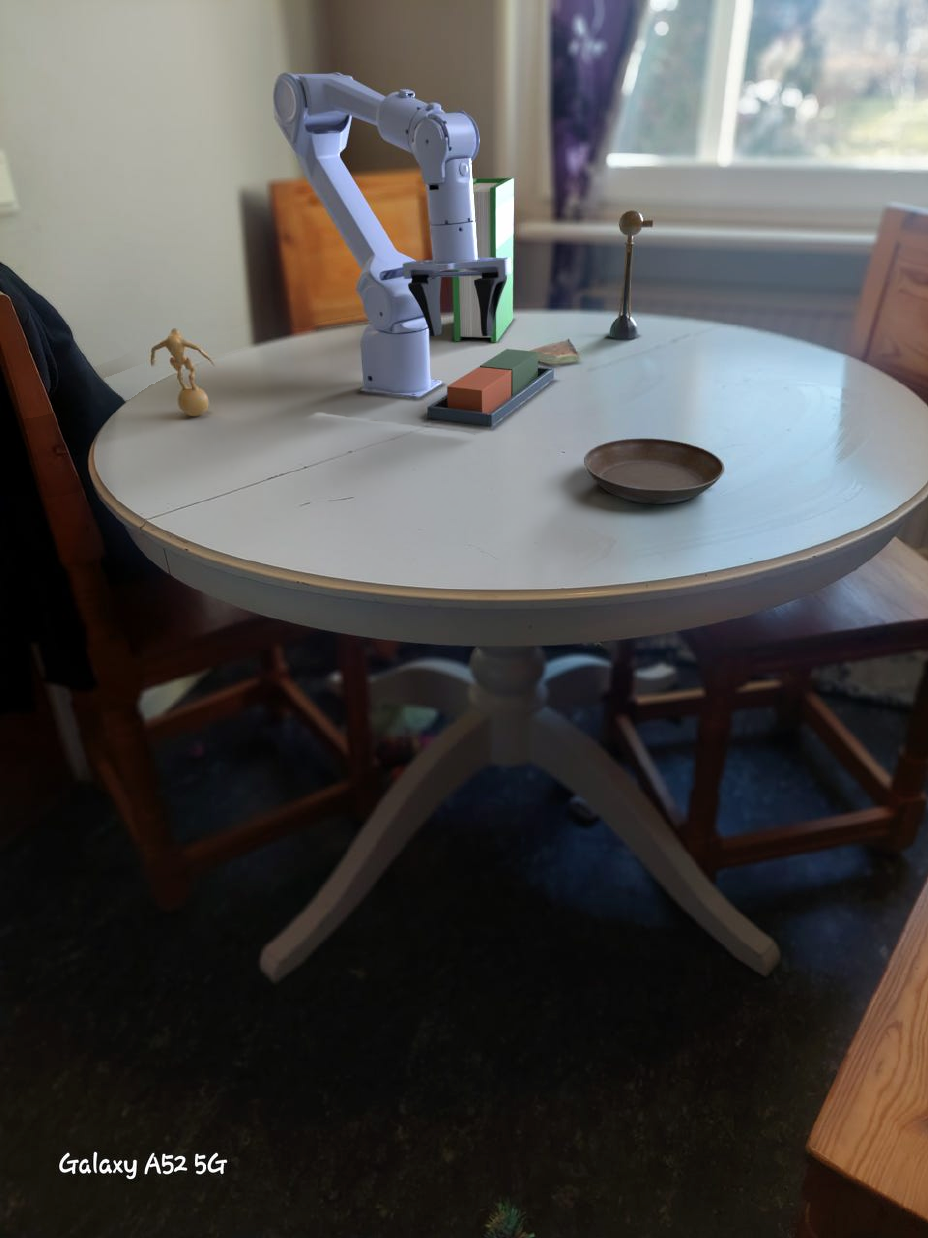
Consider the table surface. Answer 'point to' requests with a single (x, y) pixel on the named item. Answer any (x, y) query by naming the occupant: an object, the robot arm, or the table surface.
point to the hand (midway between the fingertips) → (461, 334)
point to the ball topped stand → (628, 276)
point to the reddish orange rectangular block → (480, 390)
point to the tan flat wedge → (557, 353)
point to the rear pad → (516, 367)
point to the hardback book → (491, 243)
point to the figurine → (192, 396)
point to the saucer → (653, 469)
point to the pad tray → (444, 413)
